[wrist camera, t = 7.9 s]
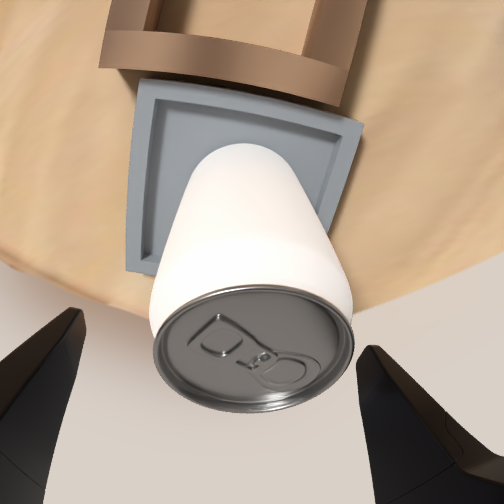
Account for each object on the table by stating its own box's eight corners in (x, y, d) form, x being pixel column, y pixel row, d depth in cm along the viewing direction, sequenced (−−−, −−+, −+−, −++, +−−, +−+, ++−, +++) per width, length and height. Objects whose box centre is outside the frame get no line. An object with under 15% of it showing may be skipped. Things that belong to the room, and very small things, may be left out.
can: (248, 260, 21) (262, 433, 11) (166, 202, 19) (102, 369, 8) (320, 189, 19) (408, 343, 8) (236, 117, 16) (239, 213, 6)
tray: (354, 119, 17) (364, 124, 16) (299, 283, 23) (302, 297, 22) (147, 77, 15) (139, 78, 14) (131, 258, 21) (125, 270, 20)
